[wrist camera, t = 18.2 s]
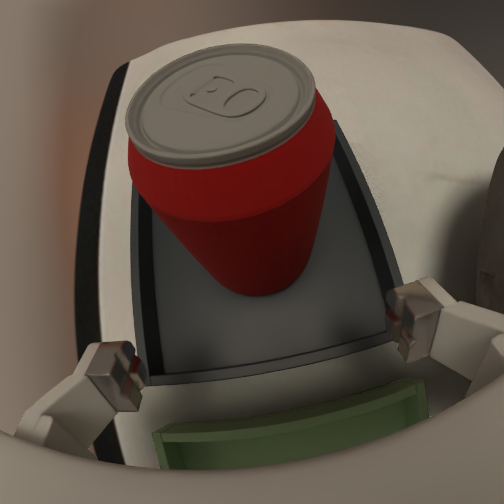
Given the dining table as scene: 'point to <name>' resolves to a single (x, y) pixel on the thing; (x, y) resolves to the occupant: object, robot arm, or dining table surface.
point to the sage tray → (292, 430)
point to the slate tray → (265, 306)
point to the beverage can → (235, 160)
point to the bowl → (492, 245)
